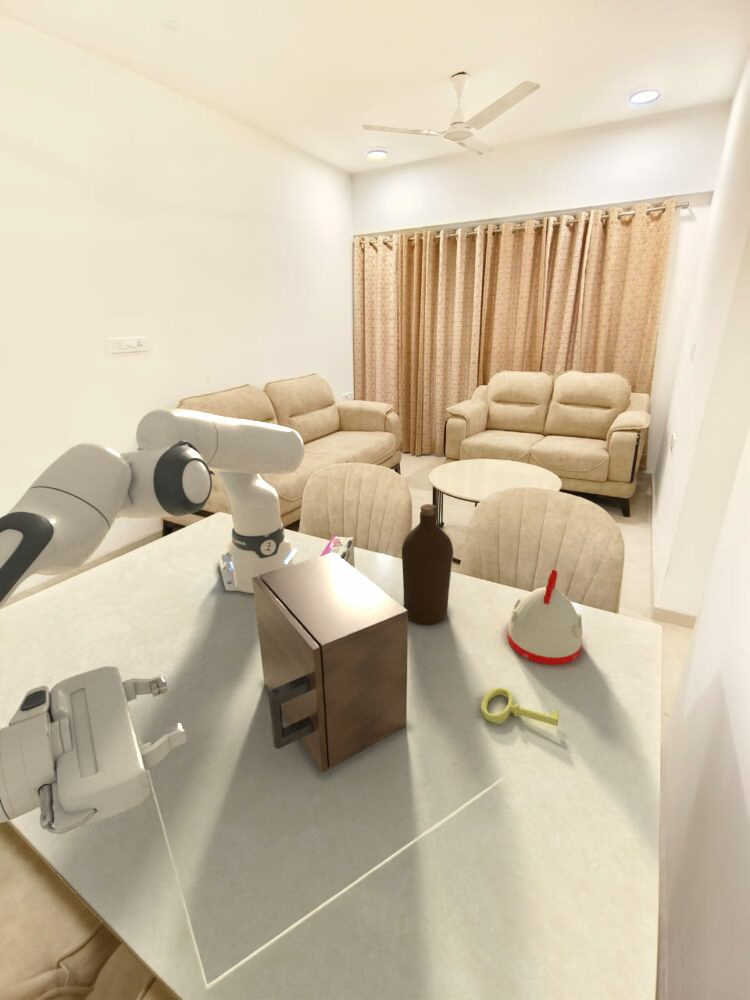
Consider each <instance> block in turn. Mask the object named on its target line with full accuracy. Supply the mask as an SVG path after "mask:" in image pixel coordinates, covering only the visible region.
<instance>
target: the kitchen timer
mask: <svg viewBox="0 0 750 1000" xmlns="http://www.w3.org/2000/svg"><path fill="white" fill-rule="evenodd" d="M557 578H558V571H557V570H554V569H551V573H550V574H549V576H548V578H547V579H548V581H547V585H546V586H544V587H540V588H539V587H538V588H536V589H534V590H533V591H531V592H529V593H528V594H526V595H525V596H524V597H523V599H522V598H518V599H517V600H516V602H515V604H514V607H513V609H512V612H511V615H510V621H509V623H508V627H507V635H506V637H507V641H508V645H510V647H511V649H512V650H513V651H514V652H516V653H517V654H519V655H520V657H521V656H522V657H523V658H525V659H527V660H529V661H532V662H535V663H538V664H542V665H549V666H557V665H558V666H559V665H565V664H568V663H571V662H573V661H575V660H576V659H577V658H578V657H579V655H580V654H581V650H582V643H583V642H582V641H583V640H582V637H583V621H582V620H583V618H582V614H581V613H577V611H576V610H575V607H574V605H573V604H572V601H571V600H570V599H569V598H568V597H567V596H566V595H565V594H564V593H563V592H561V591H560V590H558V589H556V585H557Z"/></svg>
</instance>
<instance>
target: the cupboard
mask: <svg viewBox="0 0 750 1000" xmlns="http://www.w3.org/2000/svg"><path fill="white" fill-rule="evenodd" d="M259 577H260V579H261V581H262V582H263V583H264V584H265V585H266V586H267V587H268V589H269V590H270V591H271V592H272V593H273V594H274V595H275V597H276V598H277V599H278V600H279V601H280V602H281V603H282V605H283V606H284V607H285V608H286V609H287V610H288V611H289V613H290V614H291V615H292V616H293V617H294V618H295V619H296V621H297V622H298V623H299V624H300V625H301V626H302V627H303V629H304V630H305V631H306V632H307V633H308V634H309V635H310V637H311V638H312V639H313V640H314V641H315V642H316V643H317V645H318V646H319V647H320V654H321V670H322V686H323V701H324V717H325V733H326V748H327V764H328V770H331V769H333V768H334V767H336V766H338V765H340V764H342V763H344V762H345V761H347V760H349V759H350V758H352V757H354V756H356V755H358V754H359V753H361V752H363V751H365V750H366V749H368V748H371V747H372V746H374V745H376V744H377V743H379V742H381V741H383V740H385V739H387V738H388V737H390V736H392V735H394V734H396V733H398V732H400V731H401V730H403V729H405V728H407V716H408V715H407V713H408V712H407V711H408V710H407V707H408V704H407V703H408V646H409V645H408V643H409V642H408V641H409V640H408V639H409V619H408V610H407V609H405V608H404V605H401V604H400V603H399V602H397V600H395V599H394V598H393V597H392V596H390V595H389V594H388V593H386V592H385V591H384V590H383V589H381V588H380V587H379V586H378V585H376V584H375V583H374V582H372V581H371V580H370V579H369V578H367V577H366V576H365V575H363V574H362V573H361V571H359V570H357V569H356V568H355V569H354V568H353V567H352V566H351V565H349V564H348V563H347V562H346V561H344V560H343V559H342V558H340V557H339V556H338V555H337V554H335V553H334V552H333V553H330V554H327V555H323V556H321V555H320V556H316V557H313V558H311V559H308V560H304V561H300V562H298V563H296V564H294V565H290V566H287V567H284V568H280V569H277V570H274V571H270V572H267V573H264V574H261V575H259Z"/></svg>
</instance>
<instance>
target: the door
mask: <svg viewBox="0 0 750 1000" xmlns="http://www.w3.org/2000/svg"><path fill="white" fill-rule="evenodd" d="M252 582H253V591H254V593H253V598H254V606H255V608H254V609H255V615H256V623H257V631H258V641H259V649H260V657H261V658H260V659H261V666H262V667H261V668H262V674H263V683H264V685H265V687H266V688H267V690H268V692H267V694H266V695H267V705H268V713H269V721H270V729H271V730H270V731H271V738H272V746H273V748H275V749H277V750H281V749H283V748H284V747H287V746H288V745H291V744H293V743H294V742H296V741H298V740H300V741H301V742H302V744H303V746H304V747H305V749H306V751H307V752H308V753H309V755H310V757H311V758H312V760H313V761H314V762H315V764H316V766H317V767H318V769H319V771H320V772H321V773H324V772H326V771H328V770H329V767H328V764H327V748H326V733H325V717H324V701H323V686H322V670H321V654H320V647H319V646H318V645H317V643H316V642H315V641H314V640H313V639H312V638H311V637H310V635H309V634H308V633H307V632H306V631H305V630H304V629H303V627H302V626H301V625H300V624H299V623H298V622H297V621H296V619H295V618H294V617H293V616H292V615H291V614H290V613H289V611H288V610H287V609H286V608H285V607H284V606H283V605H282V603H281V602H280V601H279V600H278V599H277V598H276V597H275V595H274V594H273V593H272V592H271V591H270V590H269V589H268V587H267V586H266V585H265V584H264V583H263V582H262V581H261V579H260V578H259V577H258V576H257V577H253V578H252ZM283 714H284V715H283ZM283 716H284V717H285V718H286V720H287V721H288V722H289V725H288V726H285V727H284V720H283Z"/></svg>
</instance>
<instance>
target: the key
mask: <svg viewBox="0 0 750 1000" xmlns="http://www.w3.org/2000/svg"><path fill="white" fill-rule="evenodd" d="M497 696H503V697H505V698H506V699H507V700H508V702H507V705H506V707H505V708H504V709H503V710H502V711H501V712H499V713H491V712H489V711H488V705H489V702H490V700H491V699H493V698H494V697H497ZM480 711H481V714H482V716H483V718H484V719H485V720H486V721H488V722H490V723H496V724H497V723H502V722H503V721H505V720H507V719H508V717H509V716H510V714H511V713H512V714H513V716H514V717H518V716H522V717H524V718H528V719H531V720H535V721H539V722H542V723H546V724H549V725H553V726H555V727H557V726H558V725H559V716H560V711H557V712H556V710H551V712H550V715H549V714H545V713H542V712H538V711H535V710H532V709H528V708H525V707H522V706H520V704H519V703H516V704H514V697H513V694H512V692H511V691H510V690H509V689H507V688H504V687H495V688H493V689H490V690H489V691H488V692H487V693H486V694H485V695H484V697H483V698H482V701H481V703H480Z"/></svg>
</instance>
